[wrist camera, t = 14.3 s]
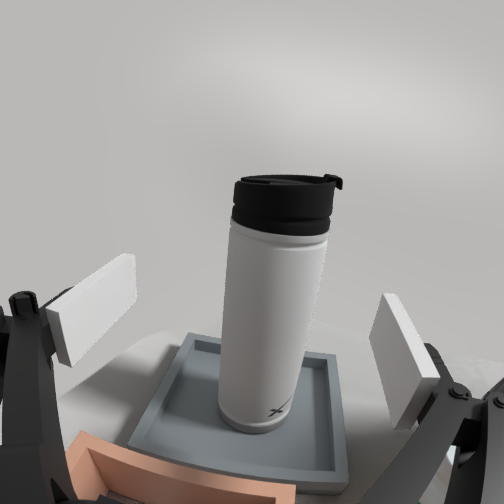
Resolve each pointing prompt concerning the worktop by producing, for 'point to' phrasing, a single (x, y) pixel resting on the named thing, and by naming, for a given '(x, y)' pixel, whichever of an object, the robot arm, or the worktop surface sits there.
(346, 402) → the worktop surface
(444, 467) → the supplement bottle
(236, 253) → the travel mug
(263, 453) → the grey tray
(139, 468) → the square planter box
